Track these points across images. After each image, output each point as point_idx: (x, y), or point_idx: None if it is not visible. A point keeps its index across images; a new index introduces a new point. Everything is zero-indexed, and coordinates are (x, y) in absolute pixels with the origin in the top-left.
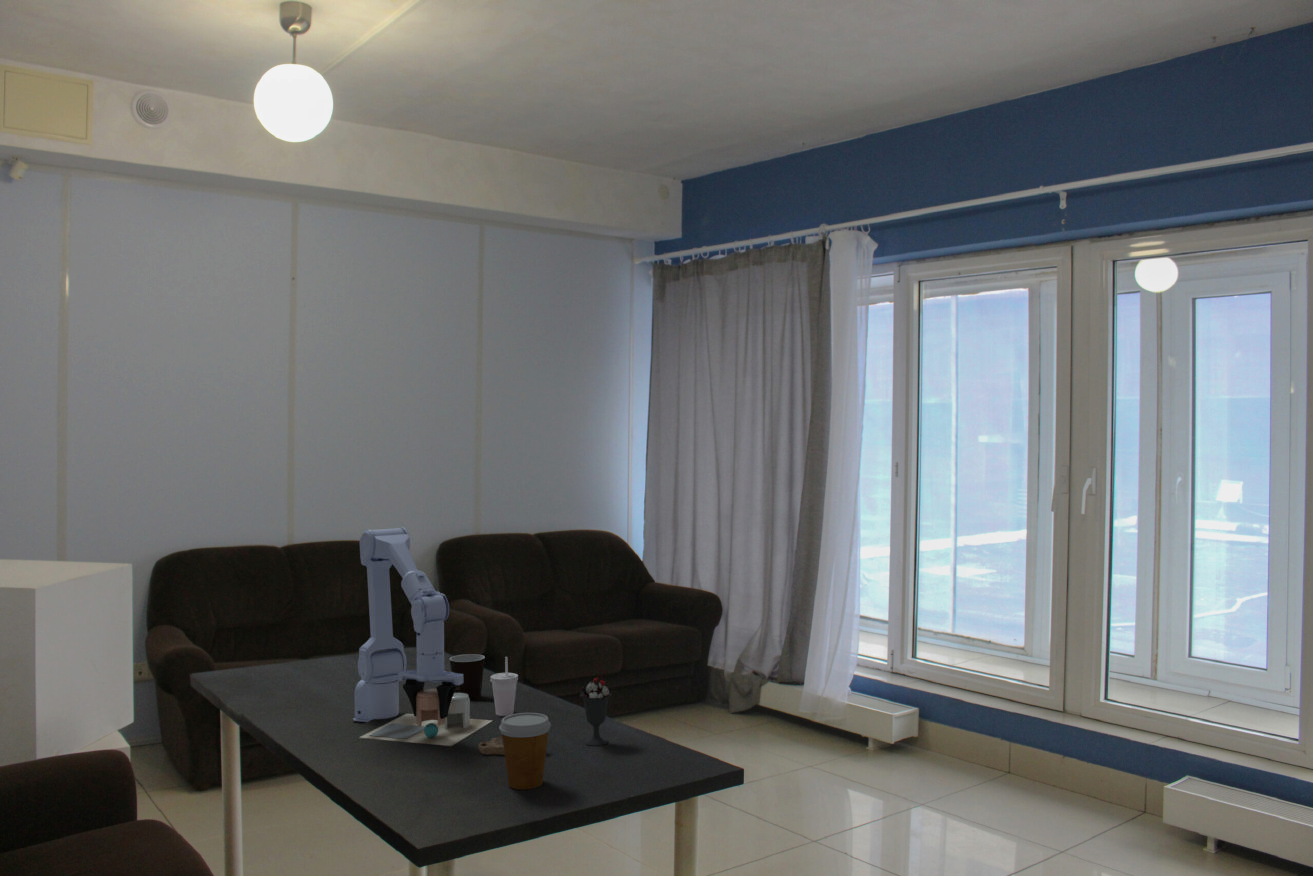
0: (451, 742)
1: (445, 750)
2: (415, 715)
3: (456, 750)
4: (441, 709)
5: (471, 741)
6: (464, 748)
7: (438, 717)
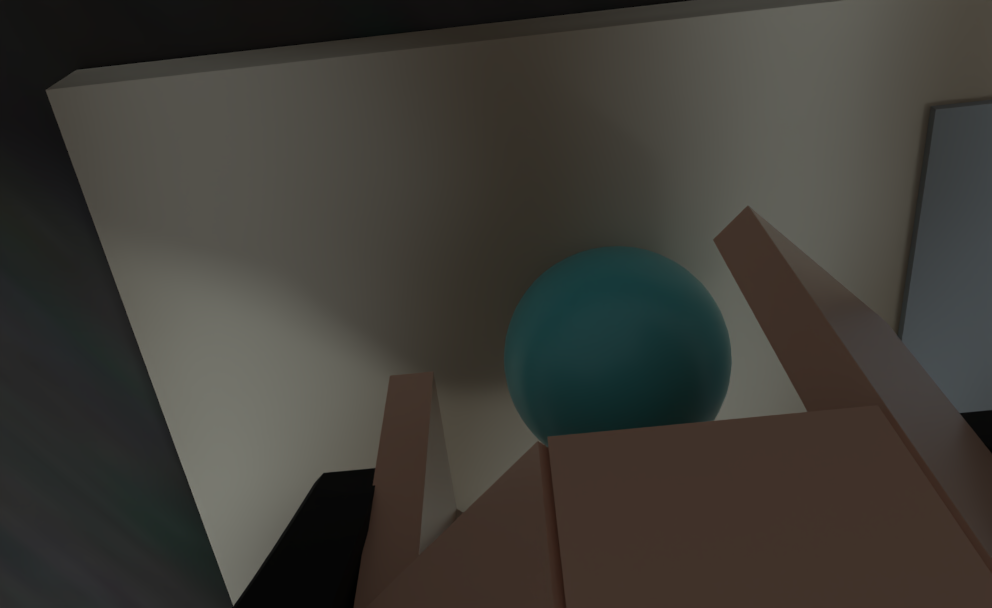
0: (173, 223)
1: (174, 55)
2: (988, 424)
3: (33, 114)
4: (266, 605)
5: (156, 459)
6: (10, 225)
7: (409, 471)
